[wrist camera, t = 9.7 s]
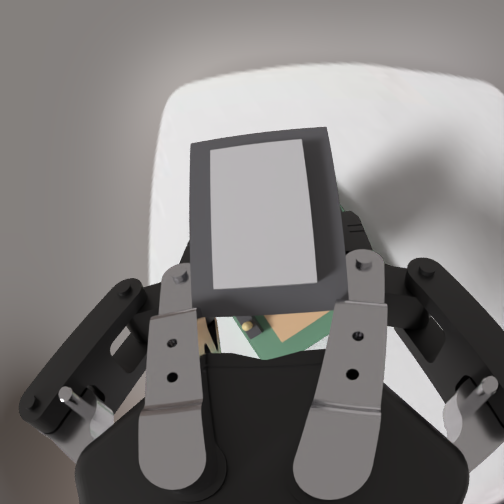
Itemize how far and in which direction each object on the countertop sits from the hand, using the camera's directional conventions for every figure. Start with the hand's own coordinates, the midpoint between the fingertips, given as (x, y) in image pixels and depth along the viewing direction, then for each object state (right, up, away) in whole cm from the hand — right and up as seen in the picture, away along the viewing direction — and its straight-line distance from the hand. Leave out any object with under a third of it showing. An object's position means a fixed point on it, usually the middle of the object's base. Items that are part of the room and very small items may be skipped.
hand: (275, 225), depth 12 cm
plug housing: (+1, -1, +4) cm, 4 cm away
